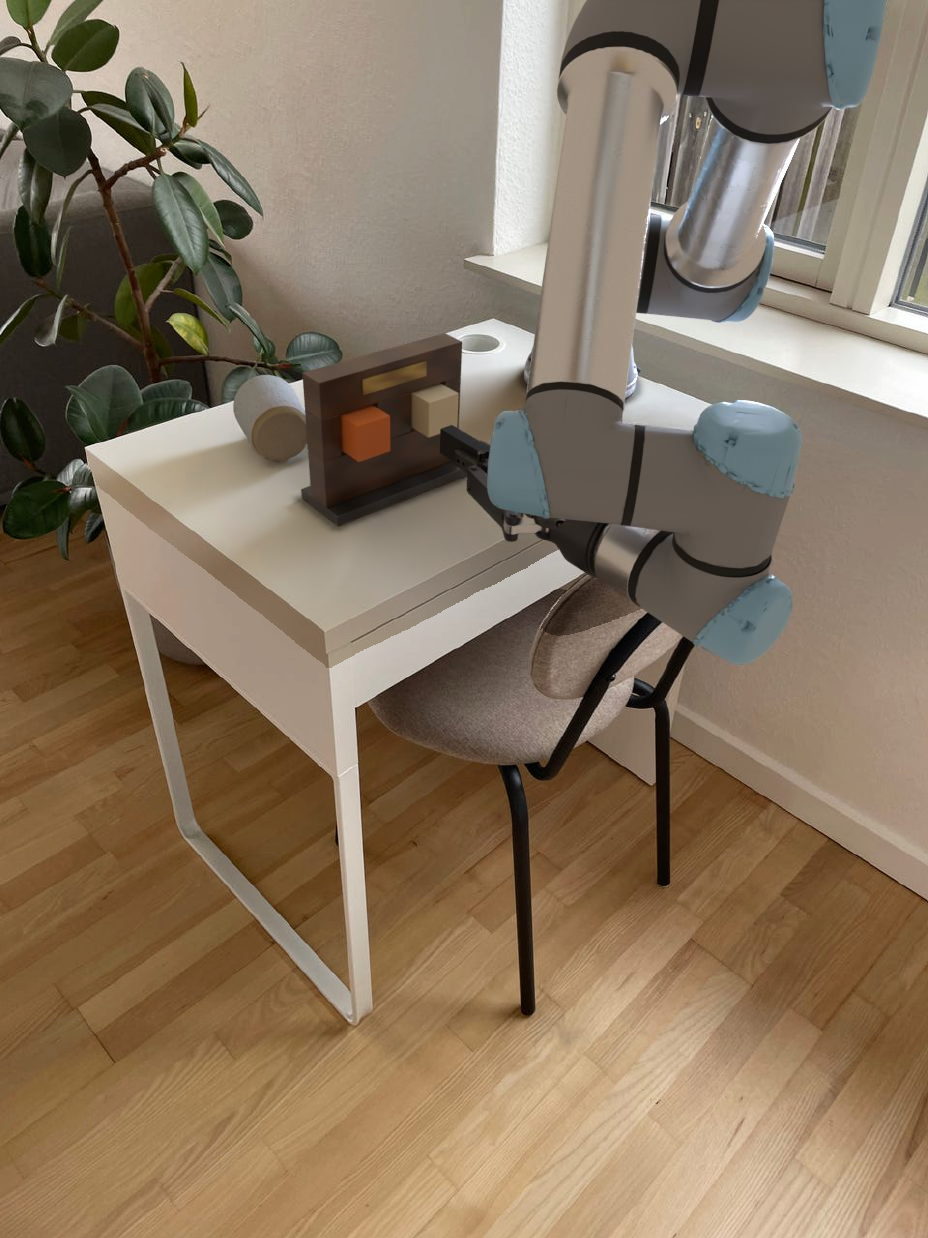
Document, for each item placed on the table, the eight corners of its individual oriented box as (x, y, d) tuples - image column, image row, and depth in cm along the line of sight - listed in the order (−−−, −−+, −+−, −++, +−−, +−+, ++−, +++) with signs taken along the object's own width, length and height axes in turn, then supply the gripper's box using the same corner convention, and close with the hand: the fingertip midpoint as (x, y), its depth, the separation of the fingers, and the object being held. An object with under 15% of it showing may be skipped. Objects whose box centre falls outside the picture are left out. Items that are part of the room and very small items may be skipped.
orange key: (367, 436, 98) (366, 401, 96) (390, 451, 96) (390, 415, 94) (336, 446, 96) (334, 411, 94) (358, 462, 94) (357, 426, 91)
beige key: (434, 414, 103) (435, 379, 101) (457, 427, 101) (458, 393, 98) (405, 423, 101) (405, 389, 98) (428, 437, 99) (429, 402, 96)
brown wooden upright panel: (430, 451, 111) (433, 326, 101) (468, 475, 107) (474, 347, 97) (301, 498, 101) (290, 365, 92) (337, 526, 97) (330, 390, 88)
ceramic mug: (254, 470, 106) (248, 407, 101) (235, 438, 111) (229, 377, 107) (342, 455, 110) (341, 394, 105) (320, 425, 115) (318, 365, 110)
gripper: (561, 605, 79) (394, 490, 93) (661, 553, 86) (491, 453, 100) (571, 531, 75) (393, 422, 88) (675, 482, 81) (495, 388, 95)
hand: (445, 438), depth 94 cm, fingers closed
